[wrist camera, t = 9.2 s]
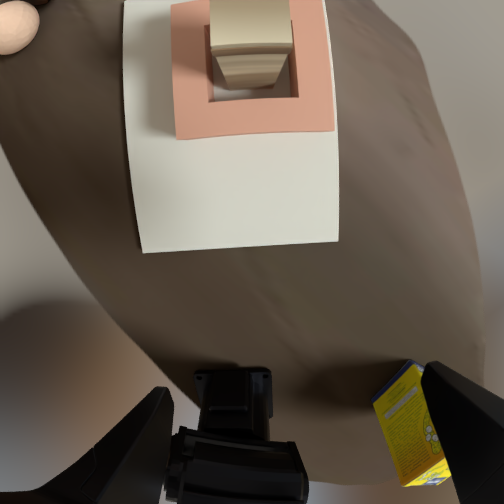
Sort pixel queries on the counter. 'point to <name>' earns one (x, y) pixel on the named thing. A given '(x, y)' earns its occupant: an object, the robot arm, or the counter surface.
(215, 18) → the dowel
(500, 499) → the robot arm
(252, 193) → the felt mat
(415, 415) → the supplement box
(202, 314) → the counter surface
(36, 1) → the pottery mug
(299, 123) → the pink square ring
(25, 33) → the egg
